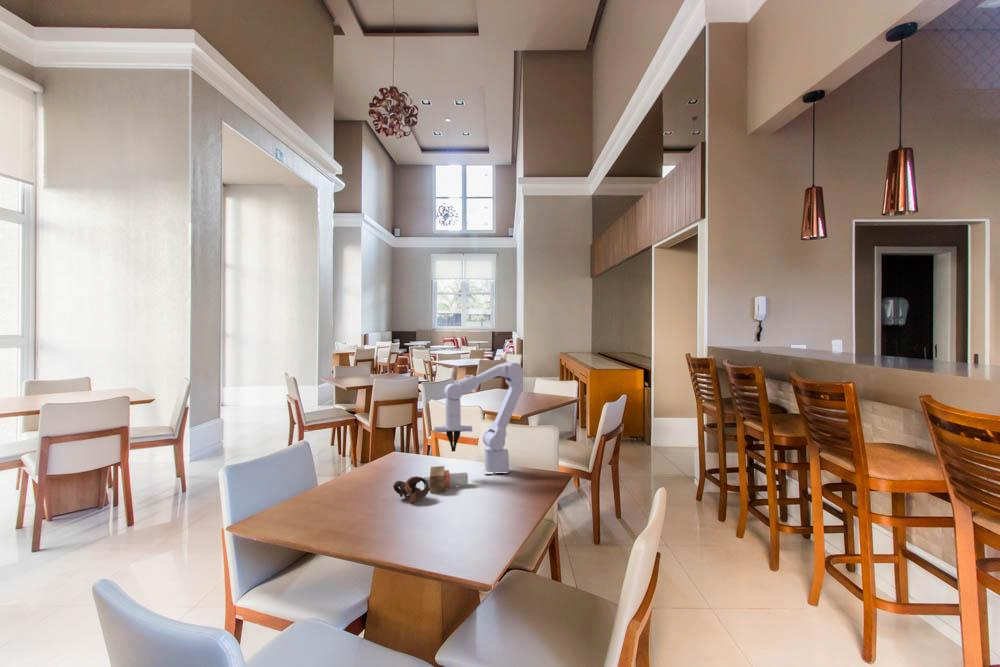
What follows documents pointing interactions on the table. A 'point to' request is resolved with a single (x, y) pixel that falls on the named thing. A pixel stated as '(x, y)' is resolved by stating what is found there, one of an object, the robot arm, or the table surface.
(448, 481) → the grey and red block
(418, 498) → the brown ringed sculpture
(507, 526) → the table surface
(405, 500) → the table surface
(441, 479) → the walnut block
